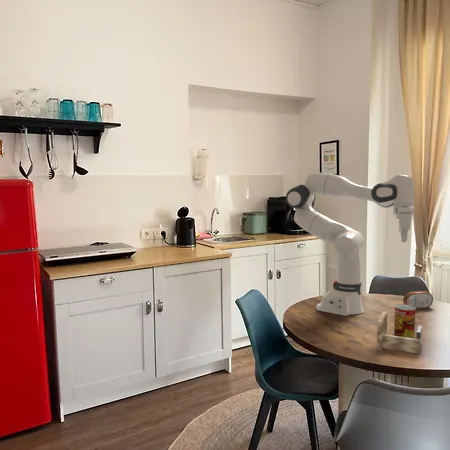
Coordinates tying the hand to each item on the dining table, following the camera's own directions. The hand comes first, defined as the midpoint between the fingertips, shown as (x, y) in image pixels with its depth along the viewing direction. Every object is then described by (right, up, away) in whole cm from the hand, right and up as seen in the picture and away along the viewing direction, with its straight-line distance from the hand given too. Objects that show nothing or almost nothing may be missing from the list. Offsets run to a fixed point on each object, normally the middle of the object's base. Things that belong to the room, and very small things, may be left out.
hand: (404, 241), depth 195 cm
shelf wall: (-12, -40, -27) cm, 49 cm away
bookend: (-5, -39, -26) cm, 48 cm away
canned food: (-6, -38, -14) cm, 41 cm away
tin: (+16, -34, +22) cm, 43 cm away
